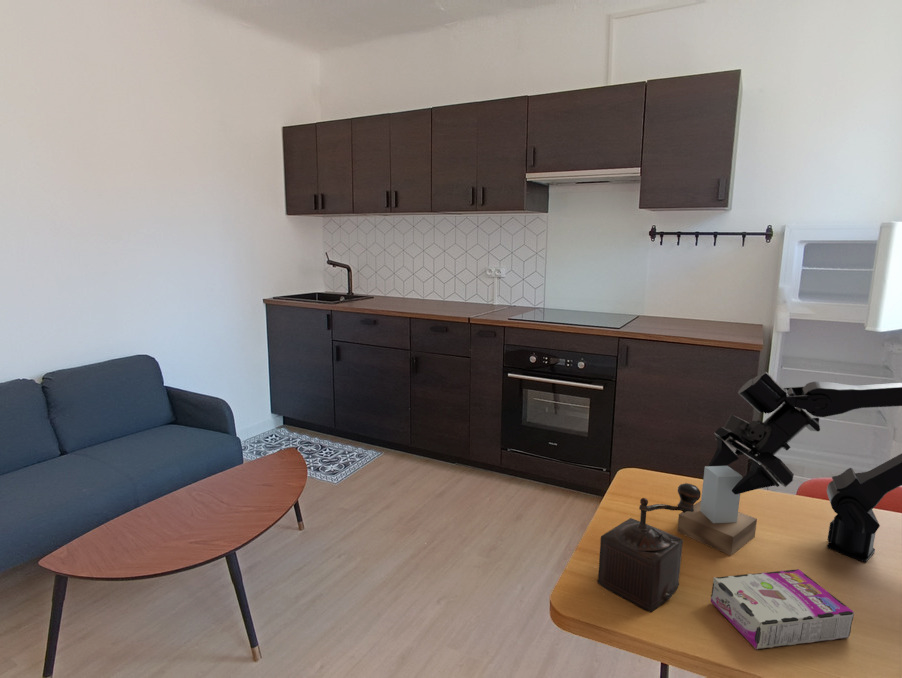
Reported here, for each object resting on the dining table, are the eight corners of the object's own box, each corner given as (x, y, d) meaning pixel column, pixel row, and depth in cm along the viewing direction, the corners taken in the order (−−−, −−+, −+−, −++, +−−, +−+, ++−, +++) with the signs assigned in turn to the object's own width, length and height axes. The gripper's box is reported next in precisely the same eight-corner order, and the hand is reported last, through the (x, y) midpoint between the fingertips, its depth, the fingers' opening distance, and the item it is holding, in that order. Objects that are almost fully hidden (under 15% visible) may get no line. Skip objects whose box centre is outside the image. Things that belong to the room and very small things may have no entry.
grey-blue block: (722, 510, 114) (727, 465, 113) (736, 522, 110) (742, 476, 108) (700, 510, 114) (704, 466, 112) (713, 523, 109) (718, 476, 107)
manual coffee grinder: (654, 616, 88) (663, 514, 84) (595, 583, 96) (602, 489, 93) (696, 577, 98) (706, 485, 95) (640, 551, 106) (647, 465, 103)
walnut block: (754, 536, 112) (757, 518, 111) (731, 555, 105) (733, 536, 104) (702, 515, 120) (704, 498, 119) (677, 531, 113) (678, 514, 112)
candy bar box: (795, 594, 94) (708, 601, 91) (799, 568, 93) (712, 575, 90) (851, 641, 83) (754, 651, 80) (856, 612, 82) (759, 621, 80)
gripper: (727, 390, 117) (673, 439, 118) (786, 418, 99) (722, 476, 100) (757, 424, 119) (704, 472, 120) (821, 458, 101) (757, 514, 102)
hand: (720, 482), depth 110 cm, fingers open, 9 cm apart
